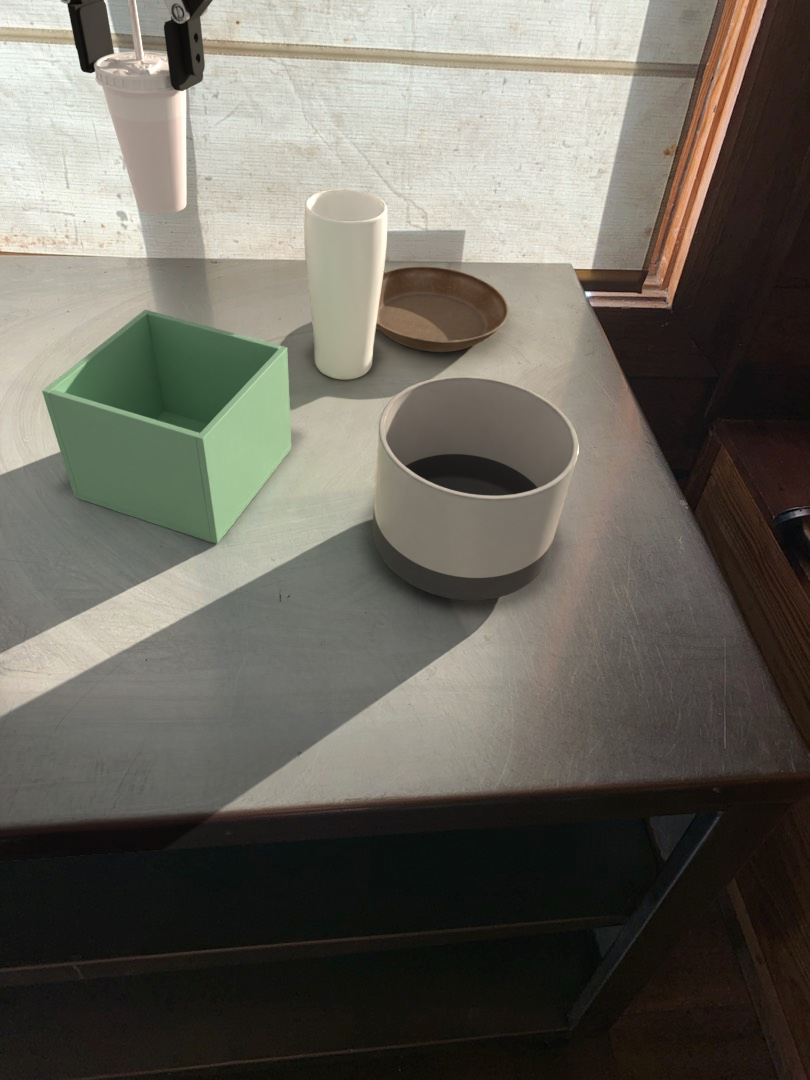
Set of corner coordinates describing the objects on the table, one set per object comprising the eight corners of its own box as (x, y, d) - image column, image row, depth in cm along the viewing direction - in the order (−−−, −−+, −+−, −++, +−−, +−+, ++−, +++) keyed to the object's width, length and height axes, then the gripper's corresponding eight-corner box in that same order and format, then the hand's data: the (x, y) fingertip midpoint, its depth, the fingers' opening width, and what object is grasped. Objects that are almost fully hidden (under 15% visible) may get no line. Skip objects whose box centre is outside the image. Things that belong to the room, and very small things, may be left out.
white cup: (388, 383, 72) (398, 220, 61) (315, 391, 70) (313, 225, 60) (369, 343, 77) (376, 186, 66) (300, 350, 75) (296, 189, 64)
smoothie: (197, 185, 64) (173, -22, 54) (210, 218, 60) (187, 1, 50) (115, 190, 63) (75, -23, 53) (123, 224, 58) (81, 0, 49)
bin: (74, 497, 59) (41, 390, 52) (163, 411, 67) (145, 309, 60) (217, 544, 56) (202, 439, 50) (291, 448, 64) (287, 347, 58)
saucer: (530, 322, 82) (535, 298, 80) (453, 383, 73) (456, 357, 71) (414, 275, 87) (416, 252, 85) (329, 327, 78) (329, 302, 76)
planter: (341, 572, 55) (343, 456, 48) (414, 468, 64) (426, 356, 56) (514, 639, 52) (545, 526, 45) (566, 521, 61) (600, 409, 53)
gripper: (-99, -315, 41) (1, 69, 54) (195, -288, 38) (228, 114, 51) (-1, -304, 47) (69, 44, 59) (265, -279, 43) (279, 84, 56)
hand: (142, 74), depth 55 cm, fingers closed on smoothie, 6 cm apart
